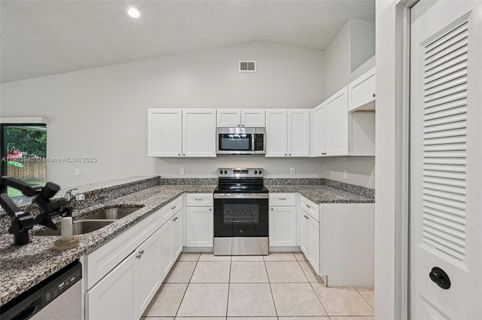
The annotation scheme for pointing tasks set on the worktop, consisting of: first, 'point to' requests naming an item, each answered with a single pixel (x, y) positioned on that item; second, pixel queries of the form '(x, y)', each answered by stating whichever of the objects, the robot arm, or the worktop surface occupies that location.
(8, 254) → the worktop surface
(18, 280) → the worktop surface
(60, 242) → the tan open ring
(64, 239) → the dowel
